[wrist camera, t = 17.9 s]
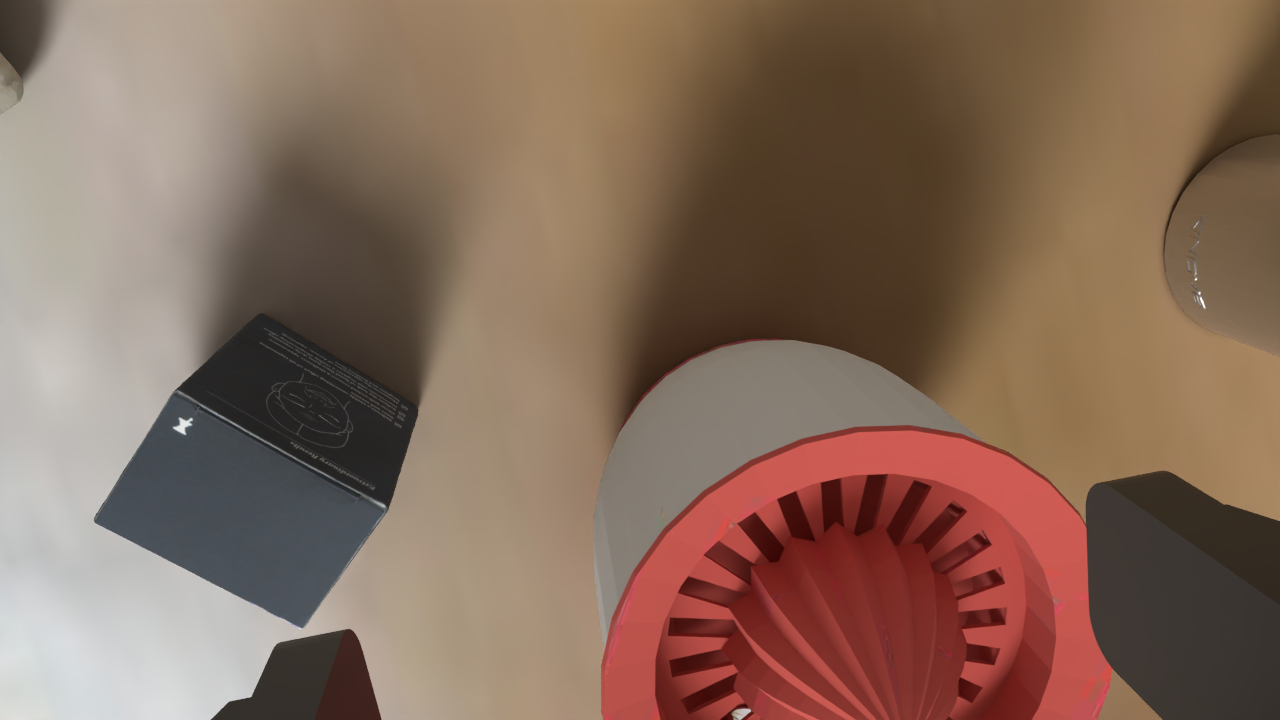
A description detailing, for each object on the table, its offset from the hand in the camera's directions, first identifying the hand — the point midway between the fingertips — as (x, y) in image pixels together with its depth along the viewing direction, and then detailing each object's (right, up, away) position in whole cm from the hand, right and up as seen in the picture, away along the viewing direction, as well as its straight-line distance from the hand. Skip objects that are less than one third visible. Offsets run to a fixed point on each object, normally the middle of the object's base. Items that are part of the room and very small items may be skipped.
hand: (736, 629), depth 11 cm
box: (-15, +1, +32) cm, 35 cm away
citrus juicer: (+4, -3, +35) cm, 35 cm away
